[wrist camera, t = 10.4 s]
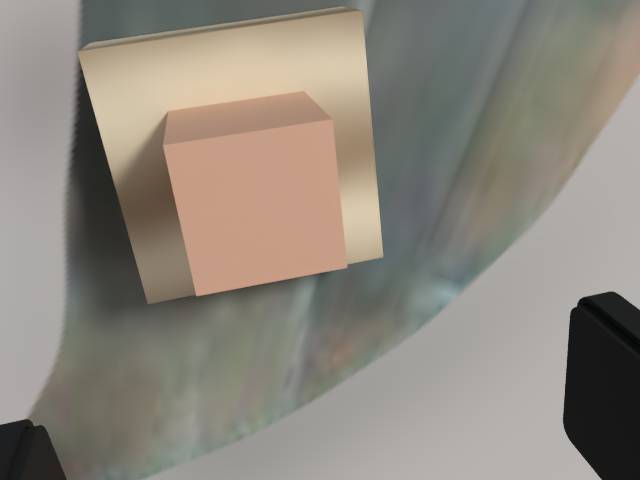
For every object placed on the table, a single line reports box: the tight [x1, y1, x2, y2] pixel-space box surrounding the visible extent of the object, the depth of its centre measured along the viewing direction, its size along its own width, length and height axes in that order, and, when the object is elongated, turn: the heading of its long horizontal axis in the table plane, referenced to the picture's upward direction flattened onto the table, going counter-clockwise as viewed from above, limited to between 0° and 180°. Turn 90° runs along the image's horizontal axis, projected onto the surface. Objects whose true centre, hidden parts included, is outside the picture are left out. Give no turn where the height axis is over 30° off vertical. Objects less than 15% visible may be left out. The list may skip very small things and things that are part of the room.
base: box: [77, 7, 383, 304], centre depth 27 cm, size 11×11×4 cm
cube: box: [163, 91, 347, 296], centre depth 23 cm, size 6×6×6 cm
